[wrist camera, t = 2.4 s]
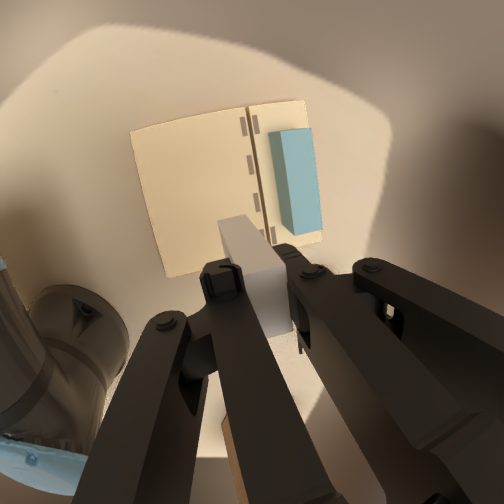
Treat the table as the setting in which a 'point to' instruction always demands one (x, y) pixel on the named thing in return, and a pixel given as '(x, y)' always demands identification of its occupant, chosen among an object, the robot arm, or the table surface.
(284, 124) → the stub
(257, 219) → the beige flat slab
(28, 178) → the table surface
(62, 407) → the robot arm
